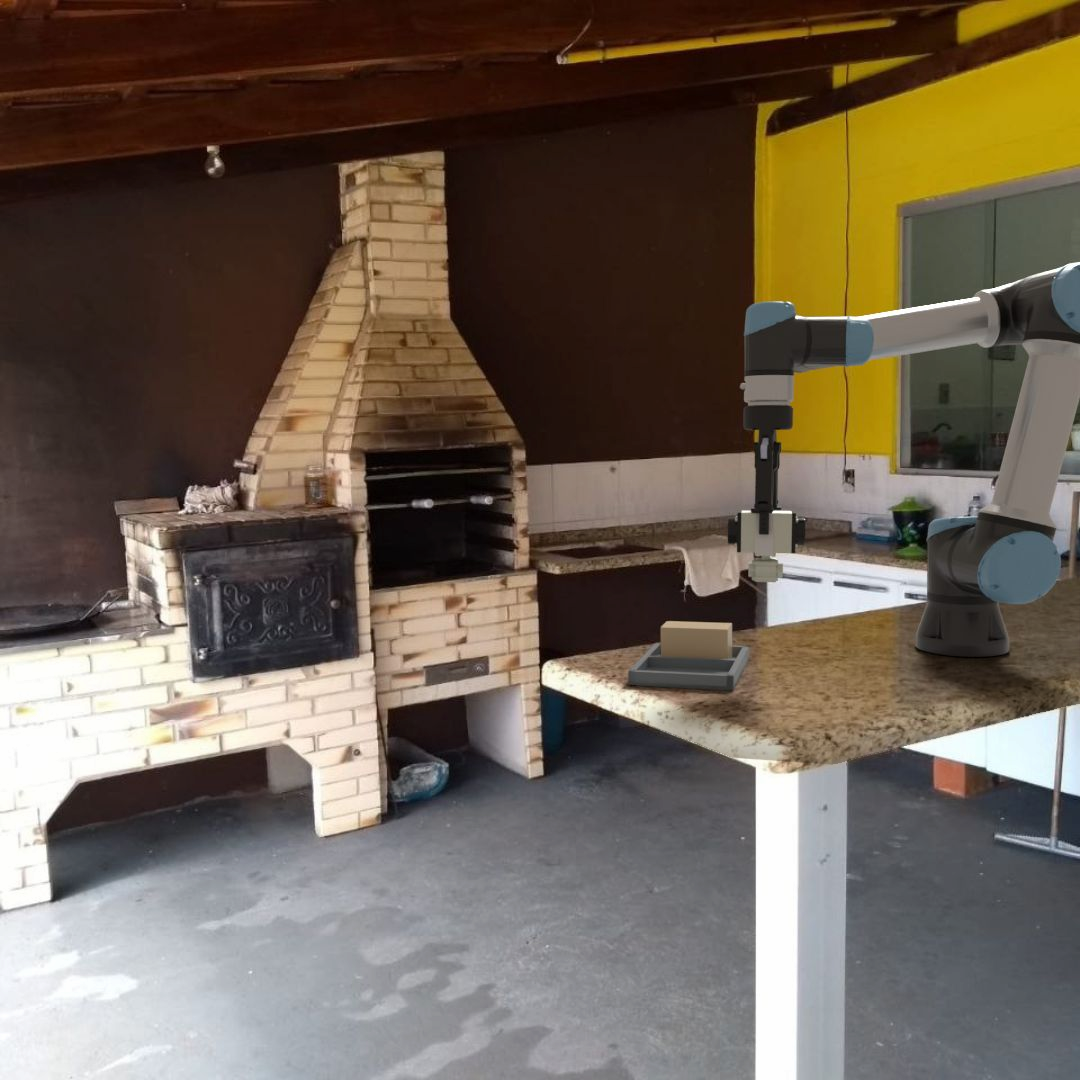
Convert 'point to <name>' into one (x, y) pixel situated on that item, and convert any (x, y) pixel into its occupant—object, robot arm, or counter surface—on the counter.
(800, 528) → the pneumatic valve
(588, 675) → the counter surface
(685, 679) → the bay tray
